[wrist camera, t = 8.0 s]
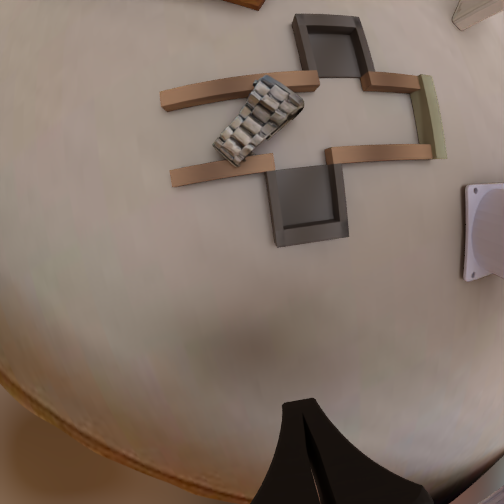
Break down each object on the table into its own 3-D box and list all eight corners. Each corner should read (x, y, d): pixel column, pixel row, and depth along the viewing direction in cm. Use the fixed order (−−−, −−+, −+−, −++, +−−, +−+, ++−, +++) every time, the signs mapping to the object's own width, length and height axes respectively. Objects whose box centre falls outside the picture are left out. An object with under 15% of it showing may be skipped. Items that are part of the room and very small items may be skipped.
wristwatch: (294, 122, 18) (311, 98, 13) (237, 173, 18) (233, 165, 13) (262, 90, 17) (267, 58, 12) (204, 140, 18) (190, 122, 13)
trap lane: (402, 32, 15) (414, 23, 13) (435, 218, 19) (451, 223, 17) (160, 42, 15) (152, 30, 13) (190, 255, 19) (184, 263, 17)
